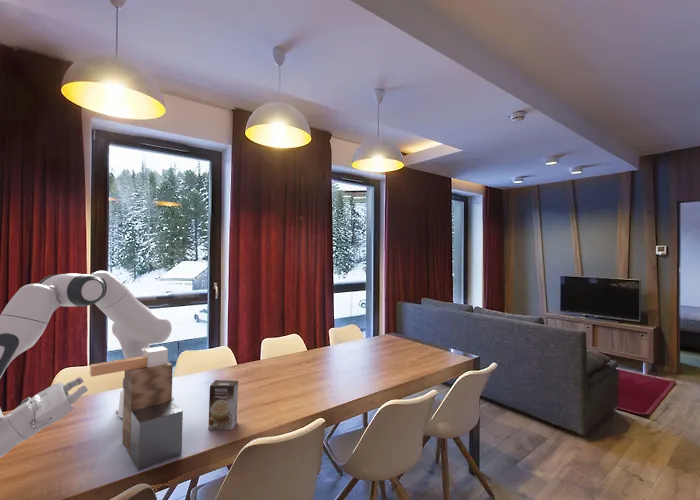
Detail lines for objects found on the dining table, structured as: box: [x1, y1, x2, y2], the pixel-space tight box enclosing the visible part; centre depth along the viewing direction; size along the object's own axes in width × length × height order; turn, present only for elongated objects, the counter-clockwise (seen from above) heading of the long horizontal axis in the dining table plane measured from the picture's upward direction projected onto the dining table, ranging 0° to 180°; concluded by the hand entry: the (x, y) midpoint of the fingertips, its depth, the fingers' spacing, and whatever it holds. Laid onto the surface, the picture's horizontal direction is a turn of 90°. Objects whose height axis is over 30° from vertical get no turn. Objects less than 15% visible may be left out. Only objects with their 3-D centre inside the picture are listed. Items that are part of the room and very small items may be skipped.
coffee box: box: [207, 379, 239, 431], centre depth 129 cm, size 9×6×16 cm
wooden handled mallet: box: [89, 345, 169, 377], centre depth 114 cm, size 21×6×5 cm, turn 134°
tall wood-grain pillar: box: [121, 361, 174, 456], centre depth 117 cm, size 12×10×26 cm
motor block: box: [129, 400, 184, 472], centre depth 109 cm, size 12×10×14 cm
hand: (84, 383), depth 105 cm, fingers open, 8 cm apart
